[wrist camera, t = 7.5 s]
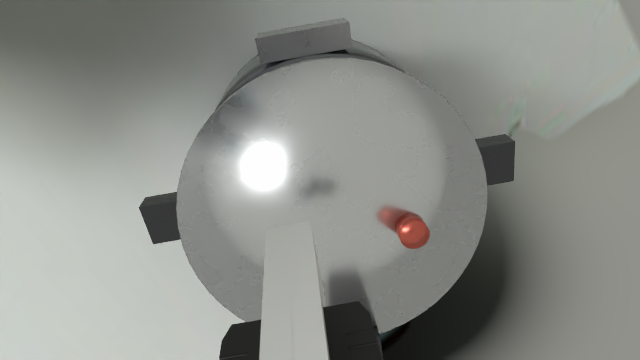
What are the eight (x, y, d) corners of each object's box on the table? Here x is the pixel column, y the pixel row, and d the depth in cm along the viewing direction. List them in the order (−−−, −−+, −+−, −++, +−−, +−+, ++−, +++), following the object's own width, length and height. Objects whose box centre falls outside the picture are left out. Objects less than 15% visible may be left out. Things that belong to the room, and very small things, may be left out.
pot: (208, 250, 46) (183, 333, 35) (140, 45, 37) (79, 71, 26) (460, 206, 46) (514, 275, 35) (455, -11, 37) (526, -8, 26)
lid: (243, 414, 37) (239, 442, 34) (139, 89, 26) (123, 97, 24) (485, 372, 36) (499, 398, 34) (476, 29, 26) (494, 31, 24)
